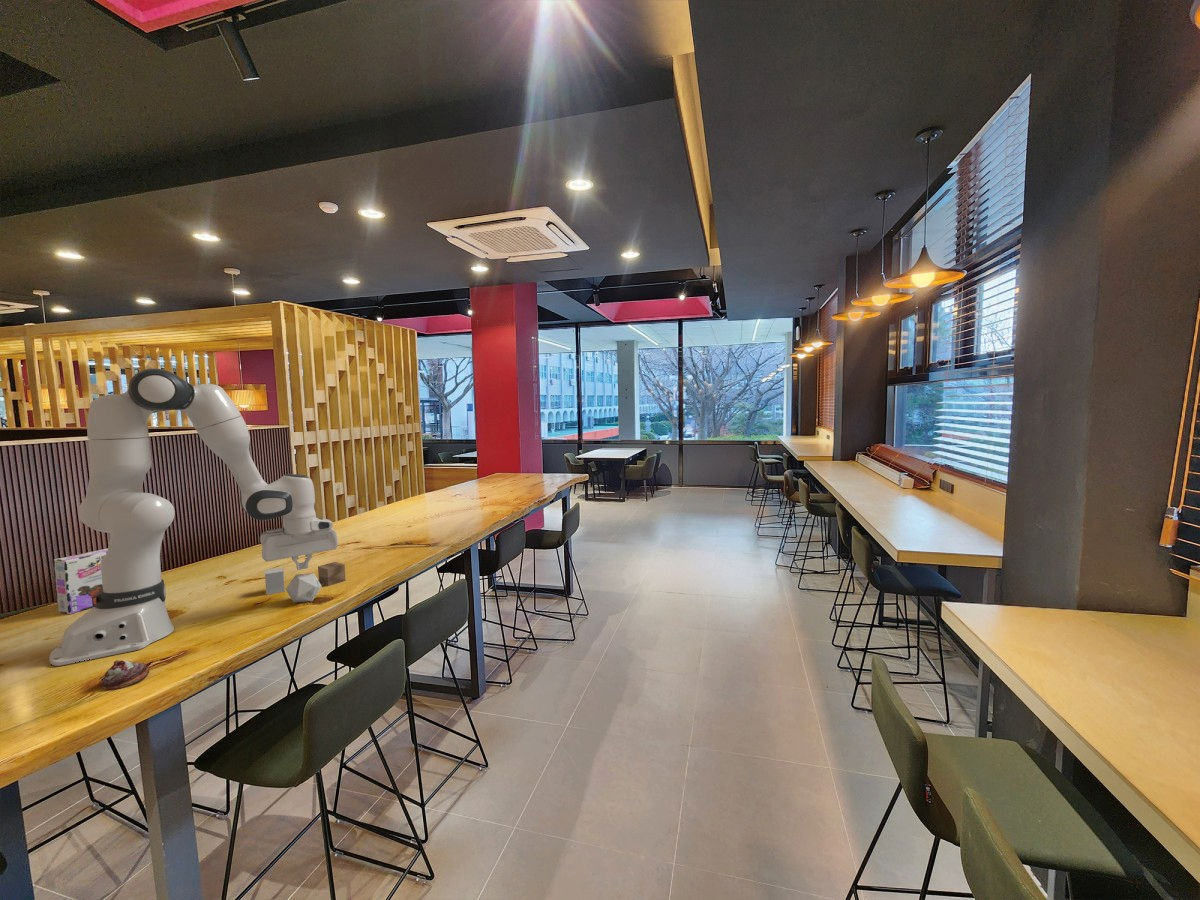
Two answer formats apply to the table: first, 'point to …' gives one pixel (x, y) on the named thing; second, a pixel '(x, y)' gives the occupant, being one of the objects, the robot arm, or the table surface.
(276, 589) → the grey plastic block
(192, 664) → the table surface
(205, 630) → the table surface
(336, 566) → the walnut cube
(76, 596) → the candy box
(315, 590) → the die
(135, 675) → the pastry
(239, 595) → the table surface
